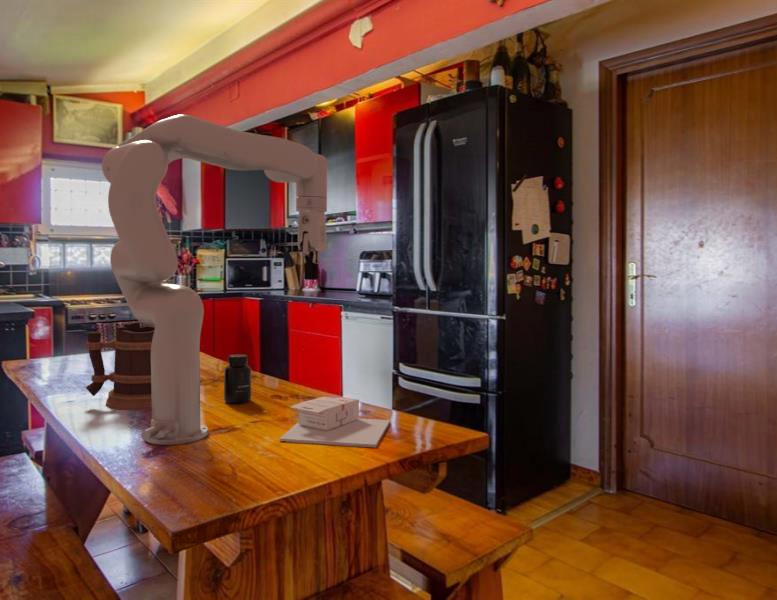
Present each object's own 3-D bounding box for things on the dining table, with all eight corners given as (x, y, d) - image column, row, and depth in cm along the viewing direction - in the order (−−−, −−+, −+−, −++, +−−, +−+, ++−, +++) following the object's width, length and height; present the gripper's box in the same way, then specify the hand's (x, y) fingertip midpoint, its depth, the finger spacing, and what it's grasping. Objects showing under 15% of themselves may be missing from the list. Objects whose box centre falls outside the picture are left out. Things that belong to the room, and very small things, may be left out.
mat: (375, 447, 116) (375, 444, 116) (279, 441, 120) (279, 438, 120) (389, 422, 134) (389, 420, 134) (305, 418, 137) (305, 415, 137)
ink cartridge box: (330, 414, 139) (287, 427, 127) (330, 394, 139) (287, 405, 126) (359, 420, 134) (318, 434, 122) (360, 399, 134) (318, 410, 122)
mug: (82, 400, 152) (80, 323, 151) (173, 390, 165) (172, 319, 163) (91, 416, 137) (89, 331, 135) (190, 404, 149) (190, 326, 148)
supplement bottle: (244, 405, 149) (244, 358, 148) (219, 403, 150) (219, 357, 149) (255, 399, 155) (255, 354, 154) (231, 397, 157) (231, 353, 156)
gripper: (317, 202, 137) (317, 280, 138) (333, 208, 152) (333, 278, 153) (287, 202, 138) (287, 280, 139) (305, 208, 153) (305, 278, 154)
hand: (311, 279), depth 146 cm, fingers closed
